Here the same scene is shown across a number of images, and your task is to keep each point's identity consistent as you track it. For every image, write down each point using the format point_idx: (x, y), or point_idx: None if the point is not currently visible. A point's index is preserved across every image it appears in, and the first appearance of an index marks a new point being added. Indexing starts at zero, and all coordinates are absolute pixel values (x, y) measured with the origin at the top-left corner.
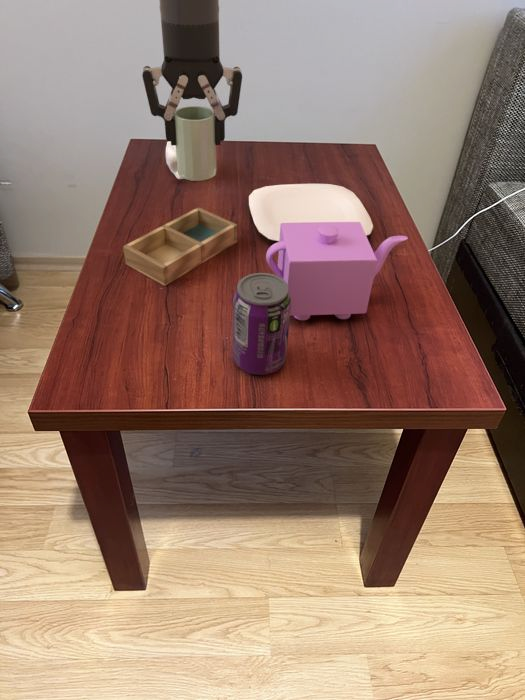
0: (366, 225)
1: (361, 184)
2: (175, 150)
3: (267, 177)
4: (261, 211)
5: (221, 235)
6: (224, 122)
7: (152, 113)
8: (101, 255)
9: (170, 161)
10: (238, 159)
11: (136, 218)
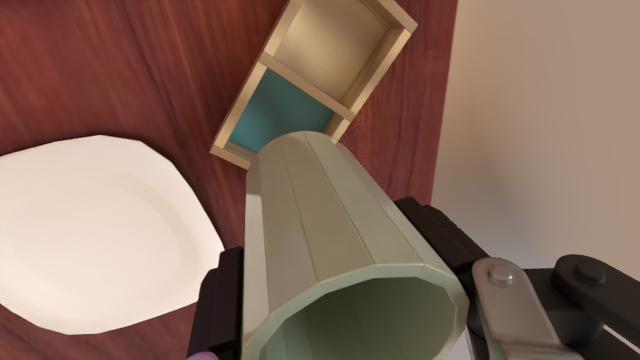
0: None
1: (52, 354)
2: None
3: None
4: (189, 225)
5: (232, 108)
6: (189, 351)
7: (591, 262)
8: (438, 51)
9: None
10: None
11: (394, 171)
